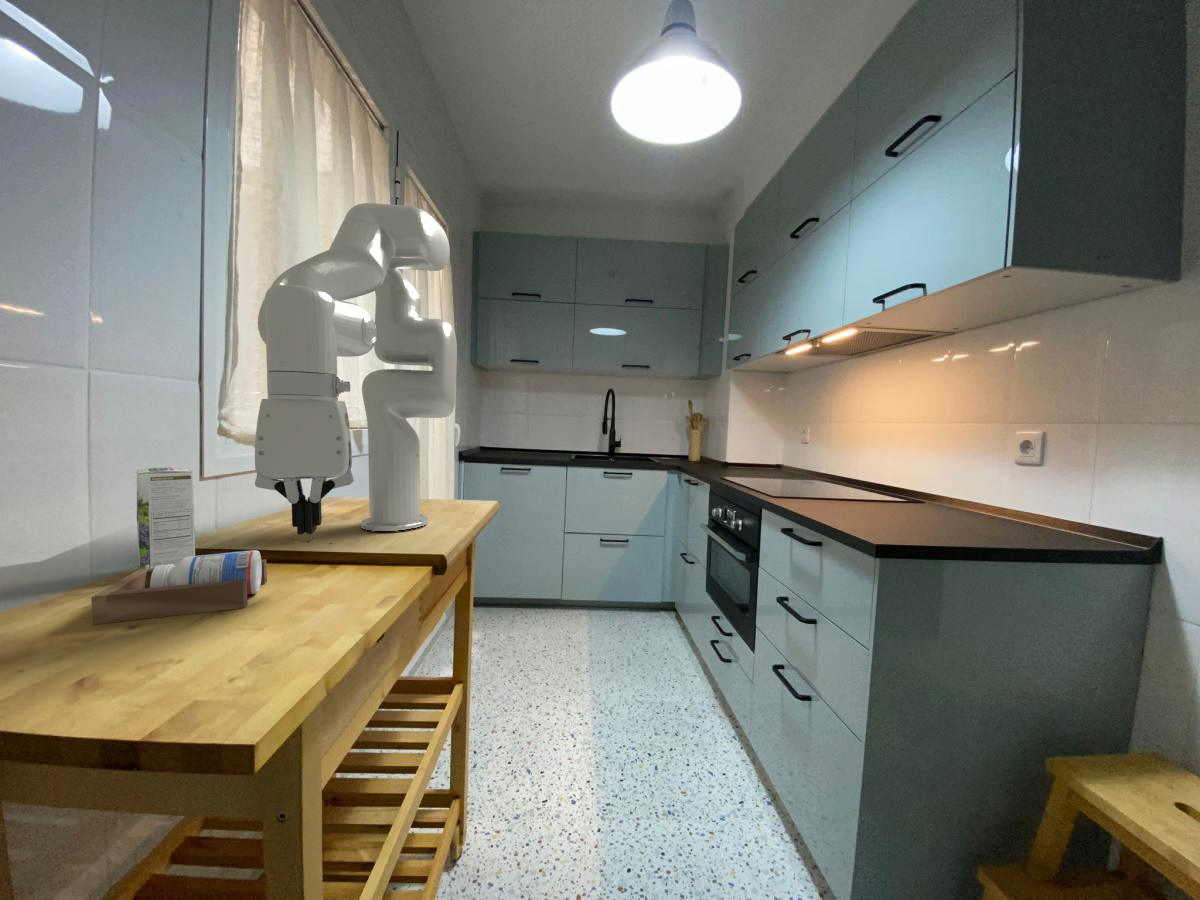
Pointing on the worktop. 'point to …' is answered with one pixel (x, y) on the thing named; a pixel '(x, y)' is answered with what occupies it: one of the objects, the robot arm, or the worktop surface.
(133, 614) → the cradle
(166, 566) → the pill bottle
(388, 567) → the worktop surface
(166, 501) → the syrup box
